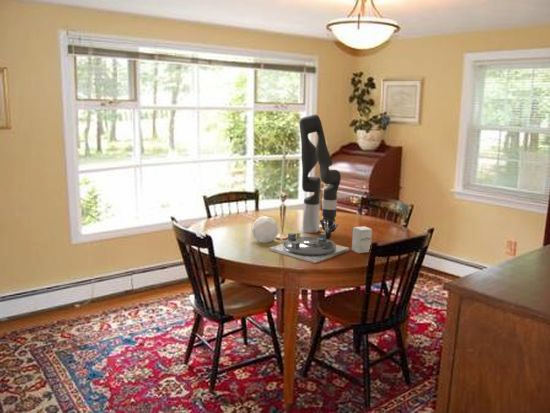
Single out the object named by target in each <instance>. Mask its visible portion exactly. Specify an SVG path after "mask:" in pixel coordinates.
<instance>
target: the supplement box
mask: <svg viewBox="0 0 550 413" xmlns="http://www.w3.org/2000/svg"><path fill="white" fill-rule="evenodd" d="M372 234H373V228H370V227H367V226H366V225H364V226H354V227H353V228H352V239H351V240H352V241H351V242H352V243H351V251H353V252H356V253H357V254H363V253H370V252H369V249H370V245H371V246H372V237H373V236H372Z"/></svg>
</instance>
